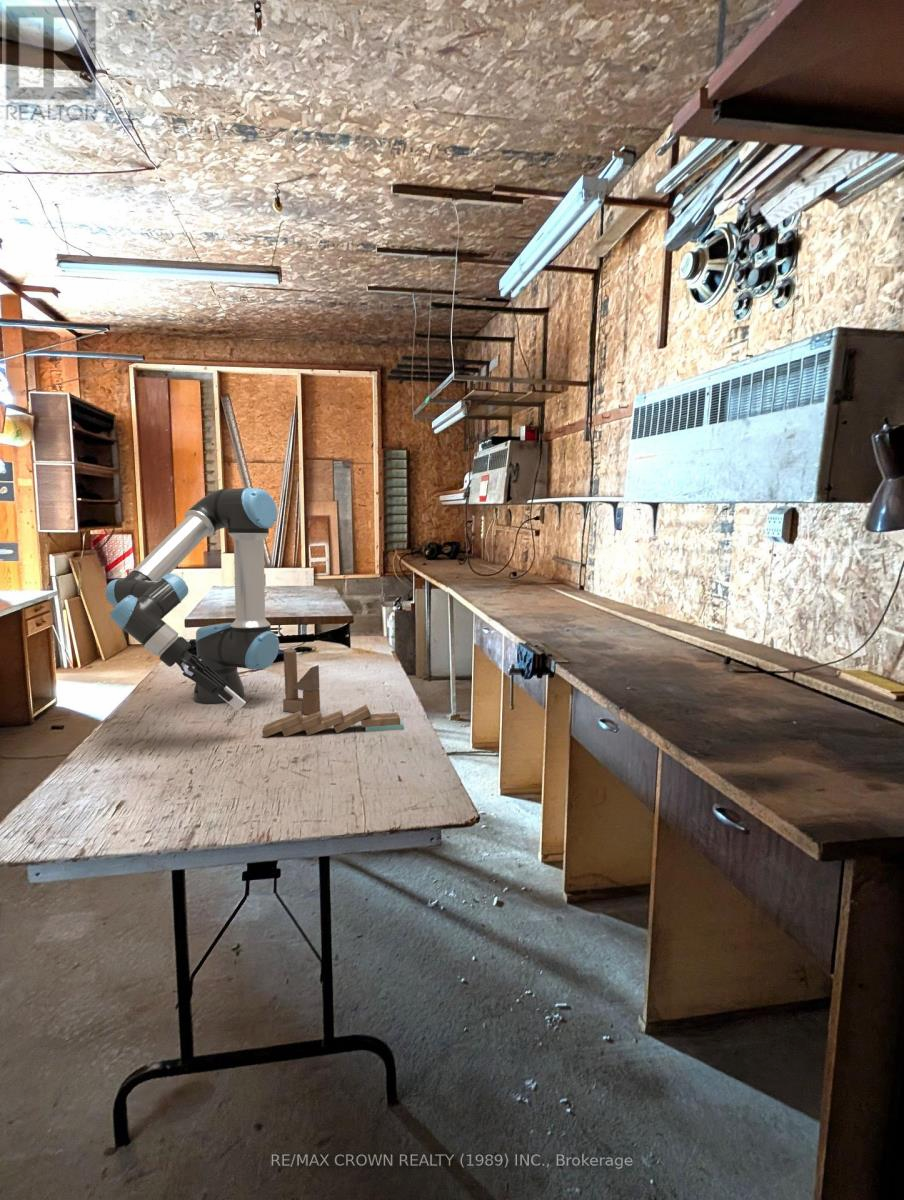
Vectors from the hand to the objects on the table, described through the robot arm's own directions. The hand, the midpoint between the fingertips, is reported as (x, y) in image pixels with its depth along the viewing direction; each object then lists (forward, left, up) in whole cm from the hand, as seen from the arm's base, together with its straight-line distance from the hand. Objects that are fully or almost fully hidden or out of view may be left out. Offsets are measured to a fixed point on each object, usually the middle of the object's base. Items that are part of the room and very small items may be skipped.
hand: (241, 706), depth 168 cm
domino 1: (-2, +5, -7) cm, 9 cm away
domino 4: (-8, +22, -7) cm, 24 cm away
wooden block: (-22, +7, -8) cm, 25 cm away
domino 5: (-10, +29, -6) cm, 31 cm away
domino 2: (-4, +10, -7) cm, 13 cm away
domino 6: (-11, +30, -8) cm, 32 cm away
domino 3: (-5, +15, -7) cm, 18 cm away
